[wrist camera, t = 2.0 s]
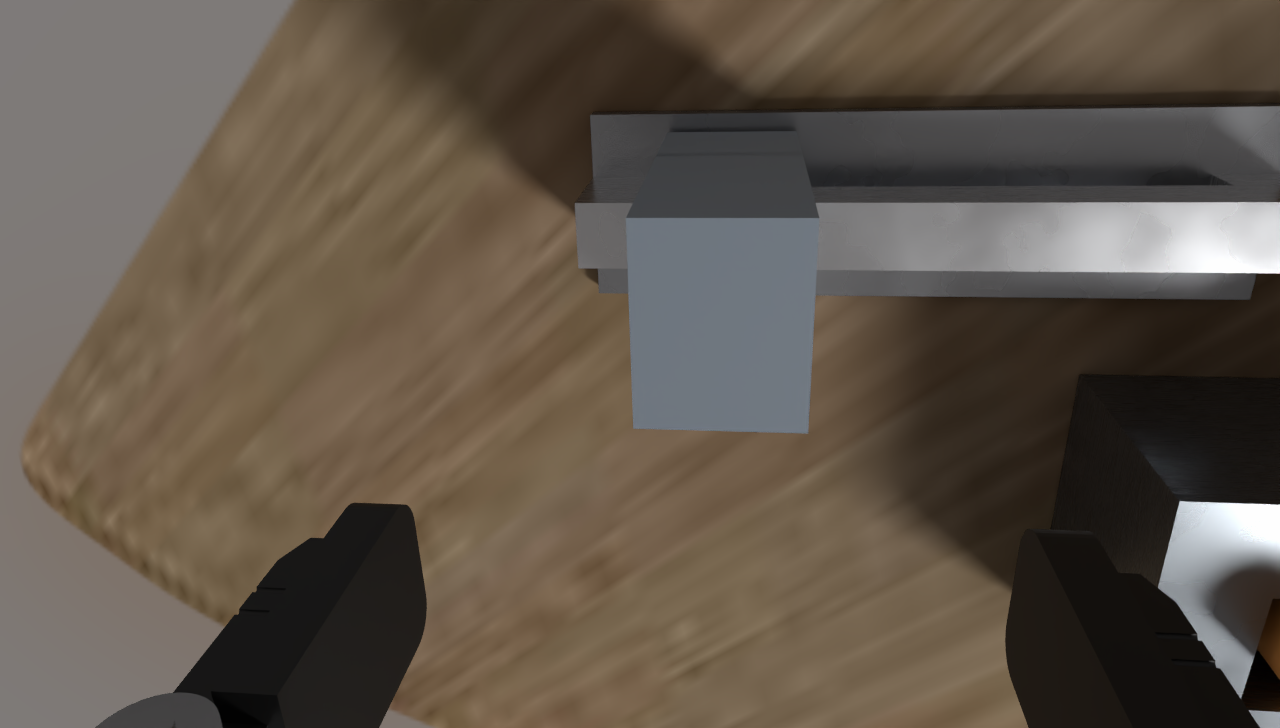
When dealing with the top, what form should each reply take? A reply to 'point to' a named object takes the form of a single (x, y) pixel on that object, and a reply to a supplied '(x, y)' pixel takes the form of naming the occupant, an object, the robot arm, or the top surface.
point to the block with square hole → (1187, 504)
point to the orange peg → (1271, 638)
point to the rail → (995, 197)
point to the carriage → (723, 284)
